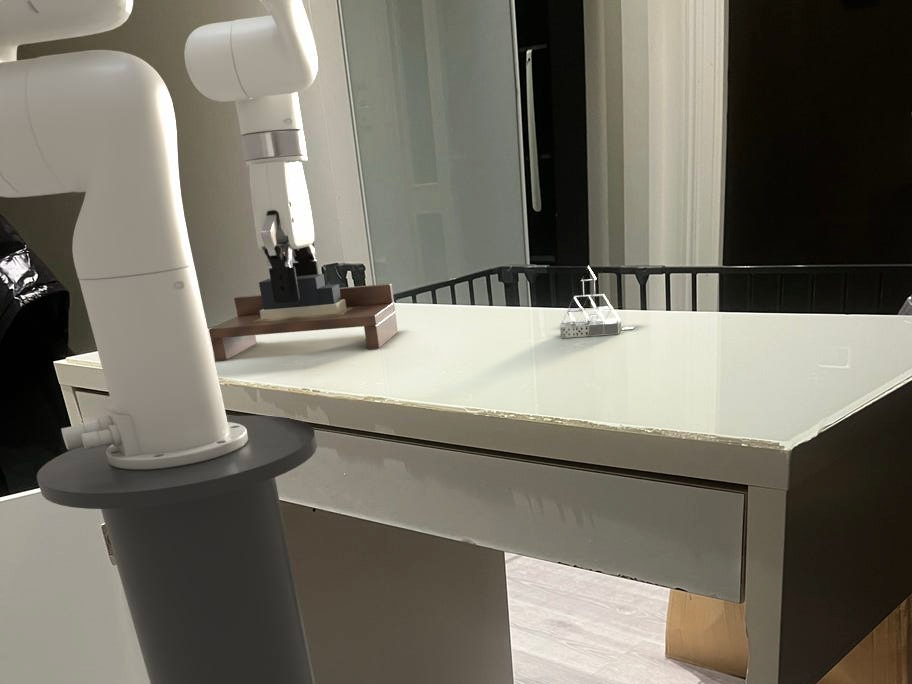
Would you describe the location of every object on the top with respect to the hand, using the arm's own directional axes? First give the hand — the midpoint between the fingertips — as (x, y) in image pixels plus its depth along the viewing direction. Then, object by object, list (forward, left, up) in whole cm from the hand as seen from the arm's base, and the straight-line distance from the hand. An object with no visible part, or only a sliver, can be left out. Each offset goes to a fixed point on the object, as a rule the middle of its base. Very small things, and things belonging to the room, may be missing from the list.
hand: (298, 297), depth 124 cm
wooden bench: (+1, +1, -6) cm, 6 cm away
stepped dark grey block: (+1, +1, -2) cm, 2 cm away
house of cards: (+29, -26, -6) cm, 39 cm away
